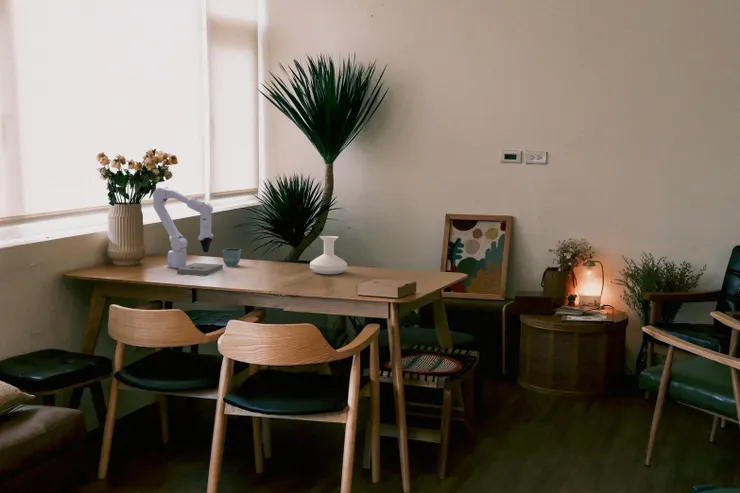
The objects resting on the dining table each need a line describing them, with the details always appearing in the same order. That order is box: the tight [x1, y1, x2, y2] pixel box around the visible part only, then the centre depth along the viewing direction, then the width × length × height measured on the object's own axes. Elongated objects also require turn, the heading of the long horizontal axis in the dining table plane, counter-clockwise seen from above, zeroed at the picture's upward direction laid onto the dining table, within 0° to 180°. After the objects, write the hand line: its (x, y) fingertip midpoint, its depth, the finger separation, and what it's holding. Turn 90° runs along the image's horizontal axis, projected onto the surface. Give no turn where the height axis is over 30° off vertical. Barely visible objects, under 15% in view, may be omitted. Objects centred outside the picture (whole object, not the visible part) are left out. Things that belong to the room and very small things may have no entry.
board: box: [176, 262, 224, 276], centre depth 425 cm, size 16×22×2 cm
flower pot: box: [221, 247, 242, 267], centre depth 447 cm, size 9×9×9 cm
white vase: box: [309, 235, 348, 275], centre depth 431 cm, size 20×20×19 cm
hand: (205, 252), depth 435 cm, fingers closed
